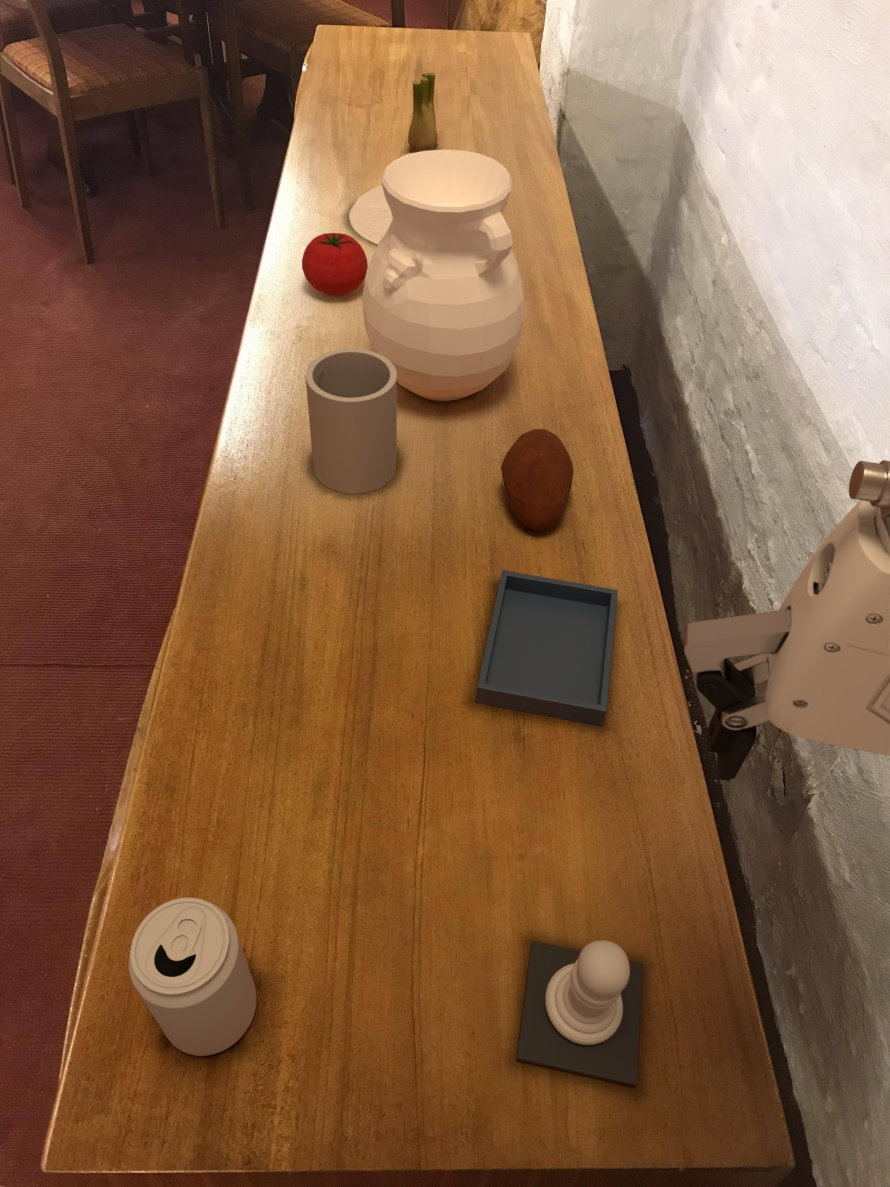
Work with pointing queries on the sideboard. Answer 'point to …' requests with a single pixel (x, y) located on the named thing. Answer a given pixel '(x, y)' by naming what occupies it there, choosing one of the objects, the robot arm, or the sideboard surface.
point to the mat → (556, 1051)
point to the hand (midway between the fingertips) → (825, 773)
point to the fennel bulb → (423, 116)
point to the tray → (549, 648)
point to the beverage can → (193, 975)
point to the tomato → (334, 264)
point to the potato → (537, 478)
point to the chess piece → (589, 994)
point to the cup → (353, 419)
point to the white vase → (445, 275)
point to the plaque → (371, 215)
